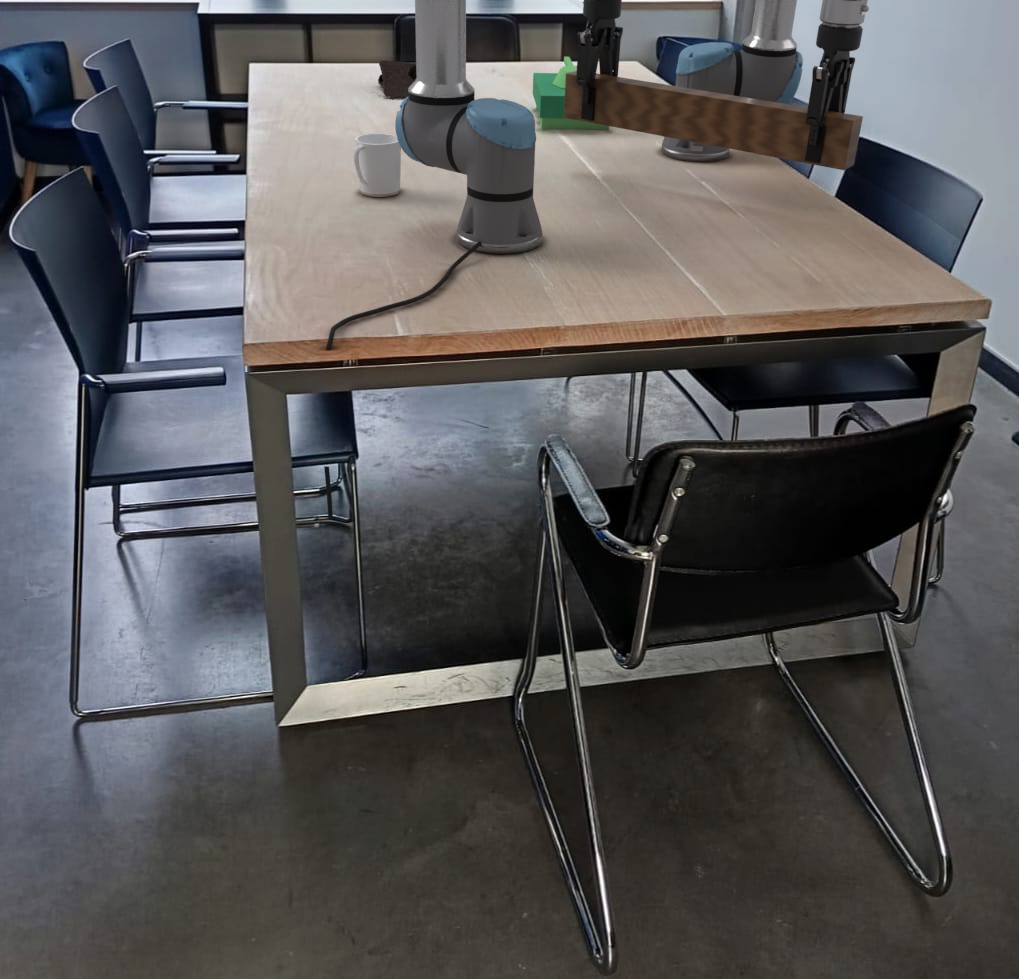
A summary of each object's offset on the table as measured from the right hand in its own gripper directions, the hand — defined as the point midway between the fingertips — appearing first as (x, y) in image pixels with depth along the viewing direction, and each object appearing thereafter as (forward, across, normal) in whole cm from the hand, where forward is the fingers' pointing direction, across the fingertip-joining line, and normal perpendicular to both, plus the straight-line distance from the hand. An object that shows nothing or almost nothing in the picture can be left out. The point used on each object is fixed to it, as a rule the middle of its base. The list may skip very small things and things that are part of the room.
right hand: (818, 158), depth 203 cm
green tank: (+13, +40, +83) cm, 93 cm away
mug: (+12, -41, +74) cm, 86 cm away
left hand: (0, 0, +49) cm, 49 cm away
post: (+1, 0, +25) cm, 25 cm away
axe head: (+13, +34, +134) cm, 139 cm away
